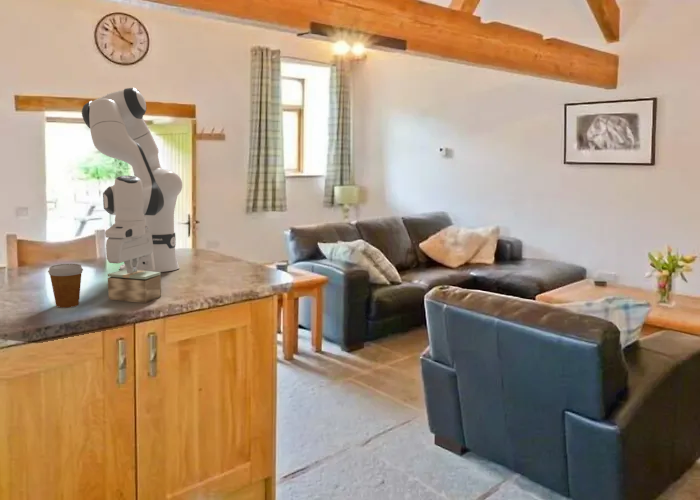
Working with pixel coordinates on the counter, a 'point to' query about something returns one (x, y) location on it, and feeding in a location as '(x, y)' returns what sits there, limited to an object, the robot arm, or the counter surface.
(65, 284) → the disposable coffee cup
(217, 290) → the counter surface
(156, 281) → the box
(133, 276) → the lid
